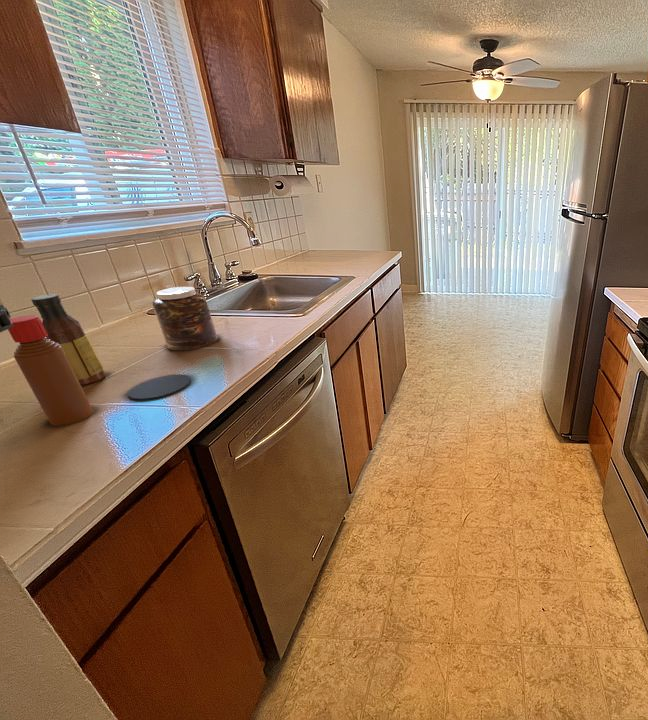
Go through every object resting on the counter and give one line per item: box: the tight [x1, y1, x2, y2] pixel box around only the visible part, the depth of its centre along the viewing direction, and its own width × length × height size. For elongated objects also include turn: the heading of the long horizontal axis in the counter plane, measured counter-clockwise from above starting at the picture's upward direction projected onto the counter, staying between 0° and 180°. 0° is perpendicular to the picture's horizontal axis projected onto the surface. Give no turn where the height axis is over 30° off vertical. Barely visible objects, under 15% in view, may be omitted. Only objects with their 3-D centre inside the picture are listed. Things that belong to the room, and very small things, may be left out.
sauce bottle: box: [30, 293, 106, 386], centre depth 87 cm, size 7×6×20 cm
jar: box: [152, 286, 219, 351], centre depth 108 cm, size 12×12×15 cm
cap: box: [7, 314, 48, 343], centre depth 69 cm, size 4×4×4 cm
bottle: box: [13, 338, 94, 427], centre depth 72 cm, size 6×6×20 cm
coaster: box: [127, 374, 192, 401], centre depth 87 cm, size 11×11×1 cm
